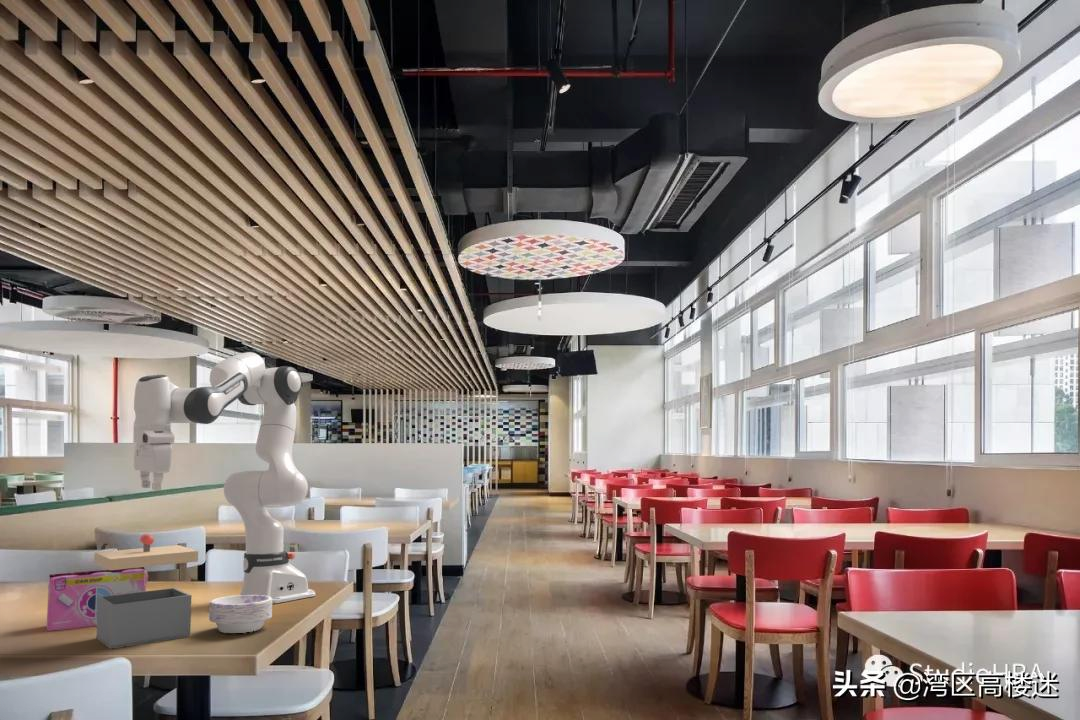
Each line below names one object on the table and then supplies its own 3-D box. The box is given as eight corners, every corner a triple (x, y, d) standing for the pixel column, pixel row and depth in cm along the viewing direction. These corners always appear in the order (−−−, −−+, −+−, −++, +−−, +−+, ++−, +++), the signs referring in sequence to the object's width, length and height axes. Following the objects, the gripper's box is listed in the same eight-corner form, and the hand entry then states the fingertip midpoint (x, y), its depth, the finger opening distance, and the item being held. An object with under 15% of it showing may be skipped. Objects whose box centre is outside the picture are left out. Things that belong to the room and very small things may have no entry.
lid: (178, 554, 215) (179, 529, 216) (197, 561, 203) (198, 533, 204) (94, 562, 202) (95, 535, 203) (109, 570, 190) (111, 540, 191)
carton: (173, 626, 212) (174, 587, 213) (190, 636, 202) (191, 595, 202) (96, 638, 201) (98, 596, 202) (110, 649, 190) (112, 605, 191)
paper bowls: (275, 622, 217) (276, 591, 217) (266, 635, 202) (267, 603, 202) (215, 625, 214) (216, 594, 215) (202, 639, 199) (203, 605, 200)
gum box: (145, 615, 228) (147, 565, 229) (149, 620, 221) (151, 569, 222) (45, 626, 215) (48, 574, 216) (46, 632, 208) (49, 578, 209)
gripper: (128, 435, 219) (127, 487, 218) (150, 437, 204) (149, 492, 203) (153, 435, 224) (152, 485, 223) (176, 436, 208) (175, 490, 207)
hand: (151, 489), depth 213 cm, fingers open, 8 cm apart
